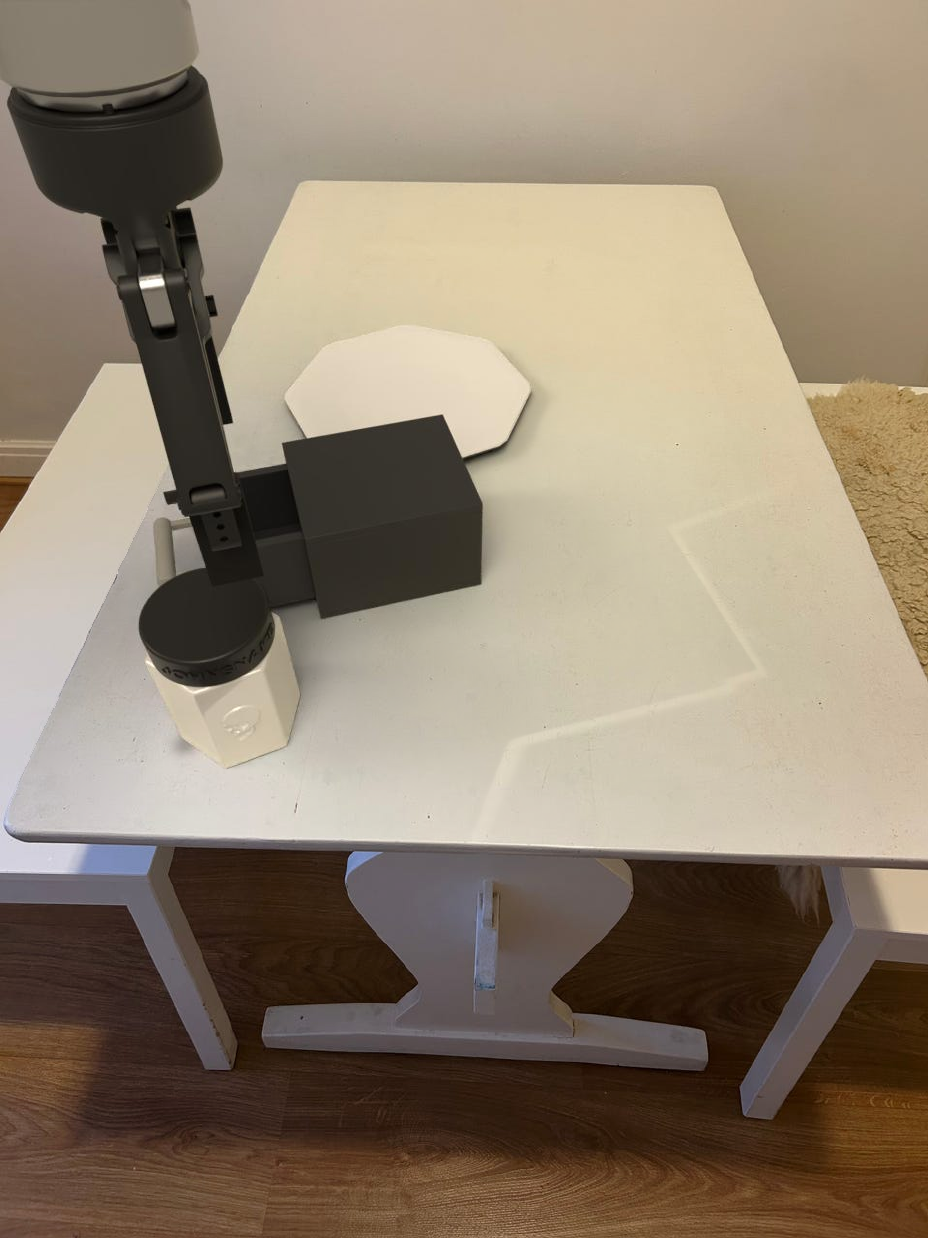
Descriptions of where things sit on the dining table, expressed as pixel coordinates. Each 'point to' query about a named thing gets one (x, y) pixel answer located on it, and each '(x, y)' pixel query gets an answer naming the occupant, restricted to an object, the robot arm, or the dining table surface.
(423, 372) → the plate
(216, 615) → the jar
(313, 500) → the dark grey box
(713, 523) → the dining table surface
